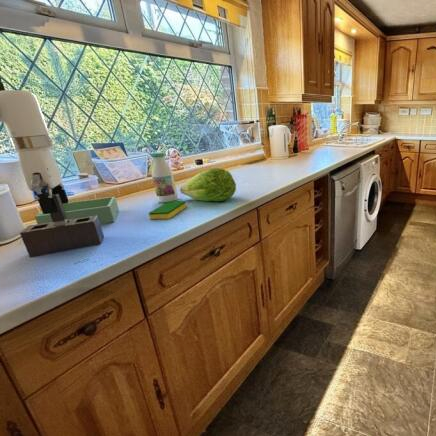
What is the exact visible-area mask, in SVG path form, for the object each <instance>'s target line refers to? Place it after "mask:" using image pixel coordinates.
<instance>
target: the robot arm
mask: <svg viewBox="0 0 436 436" xmlns="http://www.w3.org/2000/svg"><path fill="white" fill-rule="evenodd" d="M0 123H3V126H4V129H5V130H6V133H7V136H8V139H9V141H10V143H11V146H12V148H13V151H14V152H17V157H18V161H19V165H20V168H21V171H22V172H21V173H22V175H23V179H24V181H25V183H26V186H27V189H28V190H29V191H31V192H33V194H35V198H36V199H37V202H38V204H39V207H40V210H41V211H42V212H43V214H50V213H56V212H59V208H58V206H57V203H56V200H55V198H54V197H52V195H53V194H59V196H60V199H61V202H62V204H64V203H68V202H69V201H70V200H69V197H68V195H67V191H66V189H65V186H64V185H63V183H62V182H63V178H62V174H61V171H60V168H59V166H58V164H57V161H56V158H55V156H54V153H53V152H52V150H51V149H55V146H54V143H53V140H52V137H51V135H50V131H49V129H48V126H47V123H46V120H45V117H44V115H43V112H42V109H41V106H40V103H39V100H38V98H37V96H36V94H35V93H33V92H32V91H29V90H22V89H21V90H19V89H8V90H7V89H6V90H4V89H3V90H0Z"/></svg>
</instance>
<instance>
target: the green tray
mask: <svg viewBox="0 0 436 436" xmlns="http://www.w3.org/2000/svg"><path fill="white" fill-rule="evenodd" d="M62 205H63V208H64V211H65V214H66V216H67V218H66V220H69V219H76V218H82V217H89V216H96V215H97V216H98V219H99V222H100V225H104V224H110V223H111V224H112V223H115V221H116V220H117V218H118V217H117V216H118V214H119V212H120V209H119V206H118V201H117V198H116V196H107V197H99V198H93V199H84V200H77V201H70V202H68V203H64V204H62ZM34 219H35V221H36V224H42V223H49V222H53V221H52V218H51V216H50V214H43V212H42V210H41V211H40V212H39V213H37V214H36V215H35V216H34Z"/></svg>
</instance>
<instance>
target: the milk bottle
mask: <svg viewBox="0 0 436 436" xmlns="http://www.w3.org/2000/svg"><path fill="white" fill-rule="evenodd" d="M151 158H152V160H153V165H152V168H151V176H152V181H153V186H154V190H155V195H156V198H157V201H158V202H159V203H167V202H175V201H177V200H178V198H179V196H178V191H177V187H176V181H175V177H174V173H173V171H172V168H171V167H170V166H169V164H168V163H167V161H166V154H165V152H163V151H157V152H156V151H155V152H152V153H151Z"/></svg>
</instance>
